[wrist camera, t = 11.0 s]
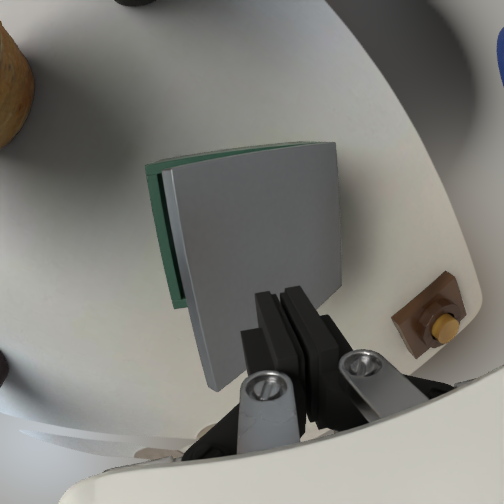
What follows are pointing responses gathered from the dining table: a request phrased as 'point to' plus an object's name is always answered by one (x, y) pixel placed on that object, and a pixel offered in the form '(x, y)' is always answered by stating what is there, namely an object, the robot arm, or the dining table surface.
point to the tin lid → (252, 241)
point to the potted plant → (13, 88)
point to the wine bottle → (3, 369)
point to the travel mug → (134, 2)
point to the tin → (163, 216)
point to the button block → (429, 313)
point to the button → (445, 328)
